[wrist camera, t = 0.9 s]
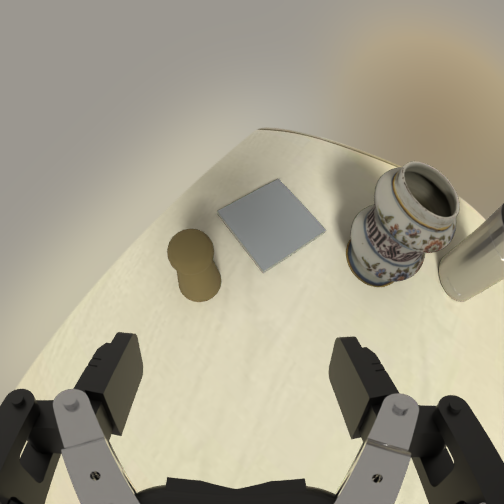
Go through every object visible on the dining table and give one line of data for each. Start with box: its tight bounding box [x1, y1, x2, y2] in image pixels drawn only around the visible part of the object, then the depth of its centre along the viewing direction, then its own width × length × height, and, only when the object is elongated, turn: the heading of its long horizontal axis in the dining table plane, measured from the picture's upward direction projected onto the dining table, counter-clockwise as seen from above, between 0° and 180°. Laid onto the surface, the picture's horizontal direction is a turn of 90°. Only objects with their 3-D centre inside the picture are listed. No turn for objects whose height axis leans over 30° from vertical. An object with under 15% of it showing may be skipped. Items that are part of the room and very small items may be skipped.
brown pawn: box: [167, 229, 221, 302], centre depth 36 cm, size 6×6×11 cm
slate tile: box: [217, 179, 326, 273], centre depth 45 cm, size 12×12×1 cm
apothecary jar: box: [346, 161, 459, 287], centre depth 36 cm, size 12×12×18 cm
